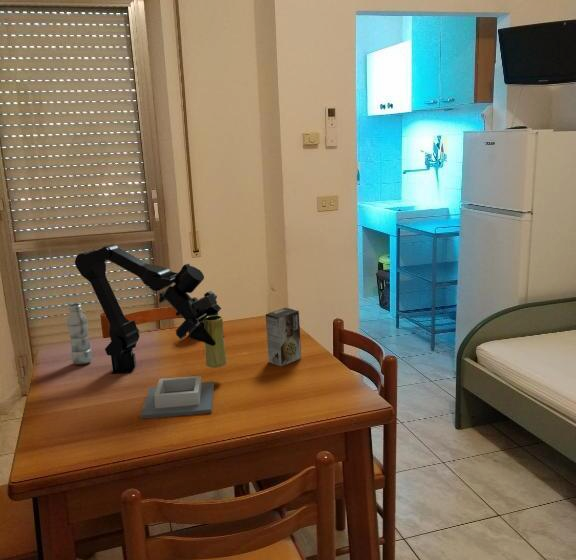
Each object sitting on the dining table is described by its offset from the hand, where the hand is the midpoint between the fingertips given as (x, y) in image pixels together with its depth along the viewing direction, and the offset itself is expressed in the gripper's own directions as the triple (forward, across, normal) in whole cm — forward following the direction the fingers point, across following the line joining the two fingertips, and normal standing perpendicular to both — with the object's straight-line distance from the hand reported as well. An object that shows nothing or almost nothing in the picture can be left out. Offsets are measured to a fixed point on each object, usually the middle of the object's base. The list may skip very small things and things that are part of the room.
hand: (219, 341), depth 162 cm
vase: (+4, 0, +6) cm, 7 cm away
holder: (+5, -16, +12) cm, 20 cm away
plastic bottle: (-28, +2, +46) cm, 53 cm away
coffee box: (+18, +19, -1) cm, 26 cm away
